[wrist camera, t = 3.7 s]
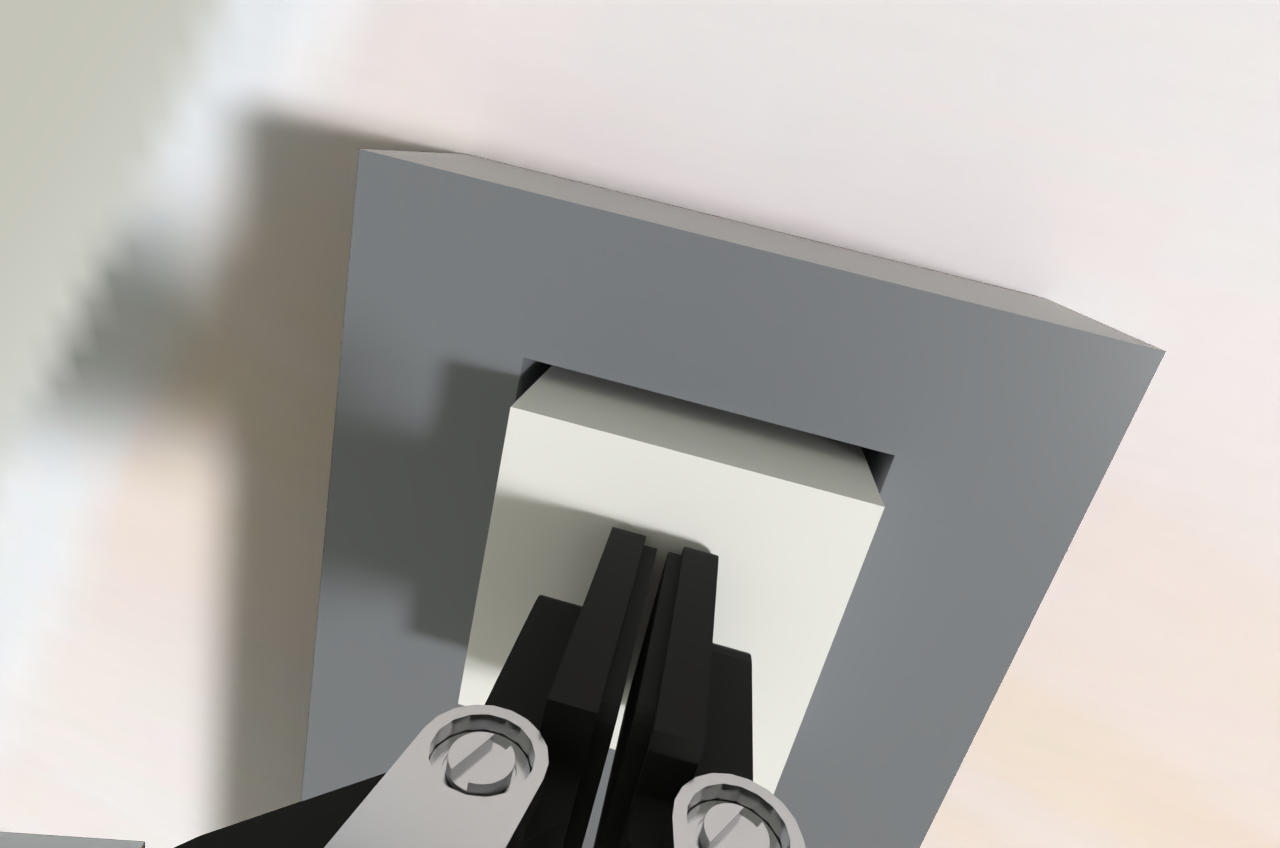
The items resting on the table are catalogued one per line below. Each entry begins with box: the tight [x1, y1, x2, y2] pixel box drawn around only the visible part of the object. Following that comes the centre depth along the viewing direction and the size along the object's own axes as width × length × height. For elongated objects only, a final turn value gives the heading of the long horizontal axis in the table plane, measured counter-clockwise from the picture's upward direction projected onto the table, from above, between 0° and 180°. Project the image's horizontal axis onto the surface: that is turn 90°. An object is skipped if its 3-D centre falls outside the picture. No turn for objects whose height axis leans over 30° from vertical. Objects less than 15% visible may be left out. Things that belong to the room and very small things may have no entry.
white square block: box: [458, 365, 885, 794], centre depth 13 cm, size 5×5×4 cm
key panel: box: [301, 149, 1166, 848], centre depth 17 cm, size 22×12×4 cm, turn 167°
